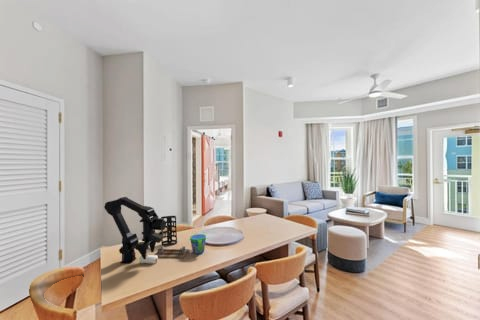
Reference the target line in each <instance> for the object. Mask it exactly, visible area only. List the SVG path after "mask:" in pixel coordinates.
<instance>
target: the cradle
mask: <svg viewBox="0 0 480 320" xmlns="http://www.w3.org/2000/svg"><path fill="white" fill-rule="evenodd" d="M163 246H164V245H161V246H159V247H158V248H157V249H156V250H157V252H155V253H154V254H153V255H157V256H158V259H185V257H186V256H187V254H188V253H189V252H190V249H189V248H188V249H187V248H186V247H185V246H184V245H183V246H182V247H181V248H164V247H163Z"/></svg>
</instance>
